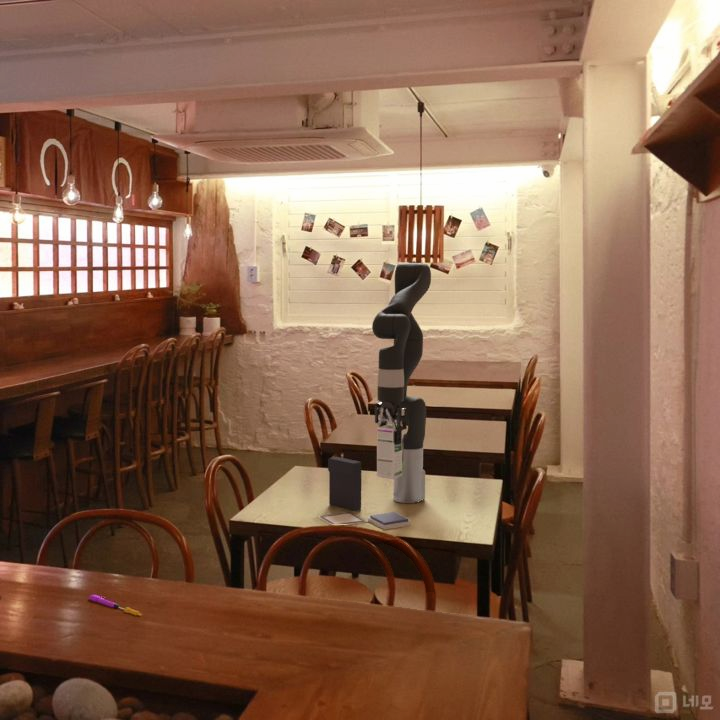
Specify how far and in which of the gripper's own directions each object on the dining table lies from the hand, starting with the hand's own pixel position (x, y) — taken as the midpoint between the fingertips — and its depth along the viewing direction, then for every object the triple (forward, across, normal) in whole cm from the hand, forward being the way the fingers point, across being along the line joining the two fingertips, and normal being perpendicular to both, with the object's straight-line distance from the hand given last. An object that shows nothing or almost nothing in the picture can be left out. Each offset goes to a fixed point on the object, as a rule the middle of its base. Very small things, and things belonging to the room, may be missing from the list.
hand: (390, 441), depth 224 cm
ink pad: (+24, 0, 0) cm, 24 cm away
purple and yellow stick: (+24, -26, +81) cm, 88 cm away
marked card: (+24, +9, +11) cm, 27 cm away
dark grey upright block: (+24, +20, +4) cm, 31 cm away
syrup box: (+10, 0, 0) cm, 10 cm away
